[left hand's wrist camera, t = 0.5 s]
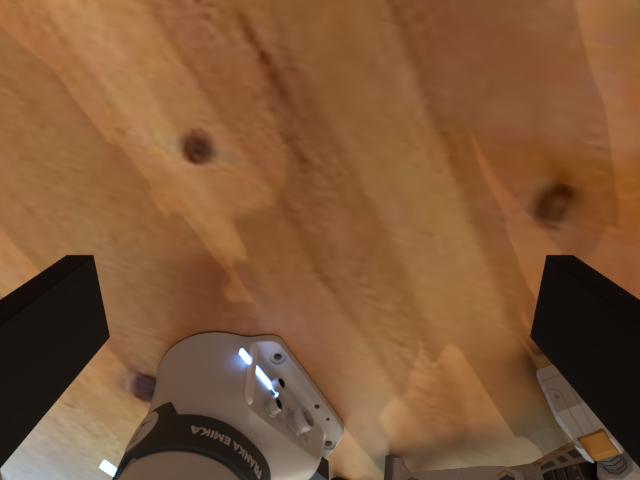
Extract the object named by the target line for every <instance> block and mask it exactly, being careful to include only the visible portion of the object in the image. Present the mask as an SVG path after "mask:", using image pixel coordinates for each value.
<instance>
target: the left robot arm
mask: <svg viewBox="0 0 640 480" xmlns="http://www.w3.org/2000/svg"><path fill="white" fill-rule="evenodd" d="M109 337H110V335H109V330H108V325H107V320H106V315H105V310H104V305H103V301H102V296H101V291H100V286H99V281H98V276H97V271H96V266H95V261H94V256H93V255H66V256H65V257H63V258H62V259H60V260H59V261H57V262H56V263H55V264H53V265H52V266H50V267H49V268H47V269H46V270H44V271H43V272H41V273H40V274H38V275H37V276H35V277H34V278H32V279H31V280H29V281H28V282H26V283H25V284H23V285H22V286H20V287H19V288H17V289H16V290H14V291H13V292H11V293H10V294H8V295H7V296H5V297H4V298H2V299H1V300H0V468H1V467H2V466H3V464H4V463H5V462H6V461H7V460H8V458H9V457H10V456H11V455H12V454H13V452H14V451H15V450H16V449H17V448H18V446H19V445H20V444H21V443H22V442H23V440H24V439H25V438H26V437H27V436H28V434H29V433H30V432H31V431H32V430H33V428H34V427H35V426H36V425H37V424H38V422H39V421H40V420H41V419H42V418H43V416H44V415H45V414H46V413H47V412H48V410H49V409H50V408H51V407H52V406H53V404H54V403H55V402H56V401H57V400H58V398H59V397H60V396H61V395H62V394H63V392H64V391H65V390H66V389H67V388H68V386H69V385H70V384H71V383H72V382H73V380H74V379H75V378H76V377H77V376H78V374H79V373H80V372H81V371H82V370H83V368H84V367H85V366H86V365H87V364H88V362H89V361H90V360H91V359H92V358H93V356H94V355H95V354H96V353H97V352H98V350H99V349H100V348H101V347H102V346H103V344H104V343H105V342H106V341H107V340H108V338H109ZM530 337H531V338H532V340H533V341H534V342H535V343H536V344H537V346H538V347H539V348H540V349H541V350H542V352H543V353H544V354H545V355H546V356H547V358H548V359H549V360H550V361H551V362H552V364H553V365H554V366H555V367H556V368H557V370H558V371H559V372H560V373H561V374H562V376H563V377H564V378H565V379H566V380H567V382H568V383H569V384H570V385H571V386H572V388H573V389H574V390H575V391H576V392H577V394H578V395H579V396H580V397H581V398H582V400H583V401H584V402H585V403H586V404H587V406H588V407H589V408H590V409H591V410H592V412H593V413H594V414H595V415H596V416H597V418H598V419H599V420H600V421H601V422H602V424H603V425H604V426H605V427H606V428H607V430H608V431H609V432H610V433H611V434H612V436H613V437H614V438H615V439H616V440H617V442H618V443H619V444H620V445H621V446H622V448H623V449H624V450H625V451H626V452H627V454H628V455H629V456H630V457H631V458H632V460H633V461H634V462H635V463H636V464H637V466H638V467H639V468H640V300H639V299H638V298H636V297H635V296H633V295H632V294H630V293H629V292H627V291H626V290H624V289H623V288H621V287H620V286H618V285H617V284H615V283H614V282H612V281H611V280H609V279H608V278H606V277H605V276H603V275H602V274H600V273H599V272H597V271H596V270H594V269H593V268H591V267H590V266H588V265H587V264H585V263H584V262H583V261H581V260H580V259H578V258H577V257H575V256H574V255H547V256H546V261H545V266H544V271H543V276H542V281H541V286H540V291H539V296H538V301H537V305H536V310H535V315H534V320H533V325H532V330H531V335H530Z"/></svg>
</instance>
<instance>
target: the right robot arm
mask: <svg viewBox="0 0 640 480" xmlns="http://www.w3.org/2000/svg"><path fill="white" fill-rule="evenodd" d="M276 353H279V354H281V355H280V356H276V355H275V354H276ZM343 429H344V424H343V422H342V420H341V419H340V417H339V416H338V415H337V413H336V412H335V411H334V409H333V408H332V406H331V405H330V404H329V402H328V401H327V400H326V398H325V397H324V396H323V394H322V393H321V392H320V390H319V389H318V387H317V386H316V385H315V383H314V382H313V381H312V379H311V378H310V377H309V375H308V374H307V373H306V371H305V370H304V368H303V367H302V366H301V364H300V363H299V362H298V360H297V359H296V358H295V356H294V355H293V354H292V352H291V351H290V350H289V348H288V347H287V345H286V344H285V343H284V341H283V340H282V339H281V338H280V337H278V336H275V335H261V336H254V337H245V336H239V335H235V334H230V333H221V332H210V333H202V334H198V335H194V336H191V337H188V338H186V339H184V340H182V341H180V342H179V343H177V344H176V345H174V346H173V347H172V348H171V349H170V350H169V351H168V352H167V353H166V354H165V356H164V357H163V359H162V360H161V362H160V365H159V367H158V371H157V377H156V387H155V391H154V395H153V399H152V402H151V405H150V408H149V411H148V414H147V416H146V417H145V418H144V419H143V421H142V422H141V423H140V425H139V426H138V428H137V429H136V431H135V433H134V434H133V436H132V438H131V440H130V441H129V443H128V445H127V447H126V449H125V454H124V456H123V458H122V460H121V462H120V464H119V466H118V468H115V467H114V466H113V465H111V464H110V463H108V462H107V461H105V460H104V461H103V462H102V464H101V465H100V467H99V468H101V469H102V470H104V471H105V472H107V473H108V474H110V475H111V476H113V479H112V480H329V464H328V461H327V460H326V459H325V458H326V457H327V456H328V455H329V454H330V453H331V452H332V451H333V450H334V448H335V447H336V446H337V444H338V443H339V441H340V439H341V437H342V434H343ZM331 480H346V479H343V478H332V479H331Z"/></svg>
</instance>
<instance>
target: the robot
mask: <svg viewBox="0 0 640 480" xmlns="http://www.w3.org/2000/svg"><path fill="white" fill-rule="evenodd" d="M536 377H537V379H538V381H539V383H540V386H541V388H542V389H541V390H542V392H543V395H544V398H545V400H546V401H547V403H548V404H549V406H550V409H551V411H552V413H553V415H554V418H555V420H556V421H557V422H558V423H559V425H560V426H561V427H562V428H563V430H564V431H565V432H566V434H567V435H568V436H569V437H570V439H571V440H572V441H573V442H572V443H568V444H566V445H564V446H562V447H560V448H558V449H557V450H555V451H553V452H551V453H549V454H547V455H545V456H544V457H542V458H540V459H538V460H536V461H534V462H533V463H531V464H524V465H518V466H512V467H504V466H480V467H469V468H459V469H447V470H436V471H424V472H415V473H411V472H410V471H409V470H408V468H407V467H406V465H405V463H404V461H403V459H402V457H399V458H396V457H395V455H387V456H386V461H385V474H384V480H640V468H639V467H638V466H637V464H636V463H635V462H634V461H633V460H632V458H631V457H630V456H629V455H628V454H627V452H626V451H625V450H624V449H623V448H622V446H621V445H620V444H619V443H618V442H617V440H616V439H615V438H614V437H613V436H612V434H611V433H610V432H609V431H608V430H607V428H606V427H605V426H604V425H603V424H602V422H601V421H600V420H599V419H598V418H597V416H596V415H595V414H594V413H593V412H592V410H591V409H590V408H589V407H588V406H587V404H586V403H585V402H584V401H583V400H582V398H581V397H580V396H579V395H578V394H577V392H576V391H575V390H574V389H573V388H572V386H571V385H570V384H569V383H568V382H567V380H566V379H565V378H564V377H563V376H562V374H561V373H560V372H559V371H558V370H557V368H556V367H555V366H554V365H553V364H552V365H550V366H547V367H544V368H542V369H539V370H537V376H536Z"/></svg>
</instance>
